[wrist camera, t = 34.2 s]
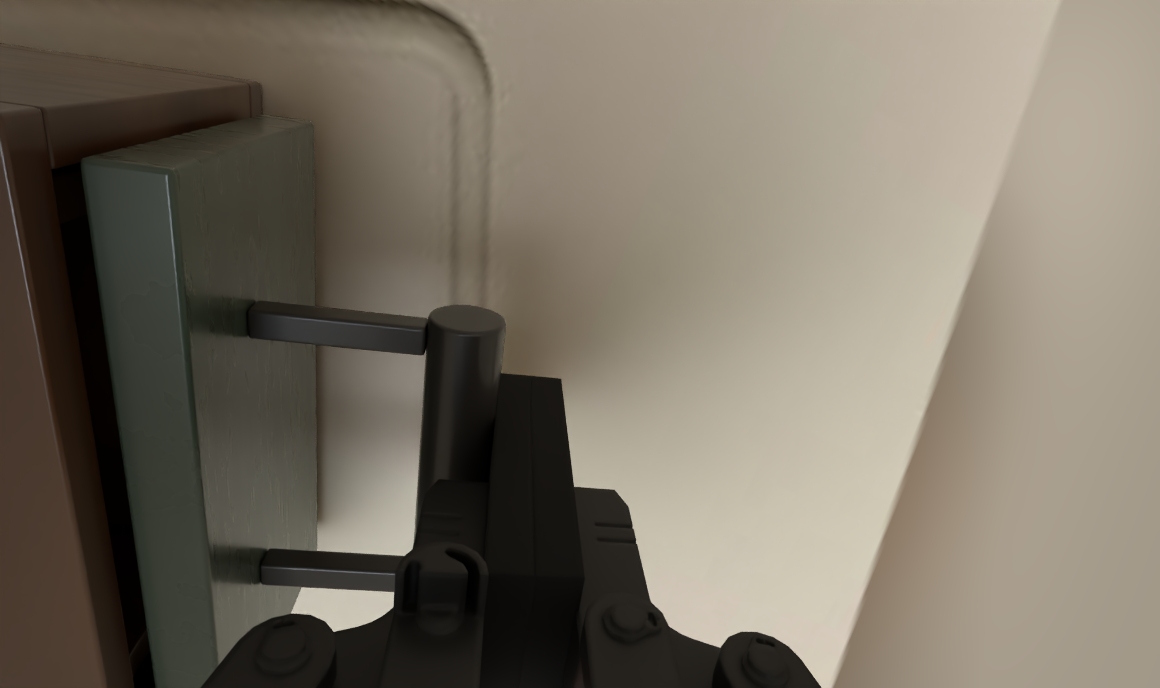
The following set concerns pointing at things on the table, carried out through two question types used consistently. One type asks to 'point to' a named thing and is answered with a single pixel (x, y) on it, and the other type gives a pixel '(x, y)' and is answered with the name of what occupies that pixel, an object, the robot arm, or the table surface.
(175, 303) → the drawer
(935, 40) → the table surface
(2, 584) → the cabinet
